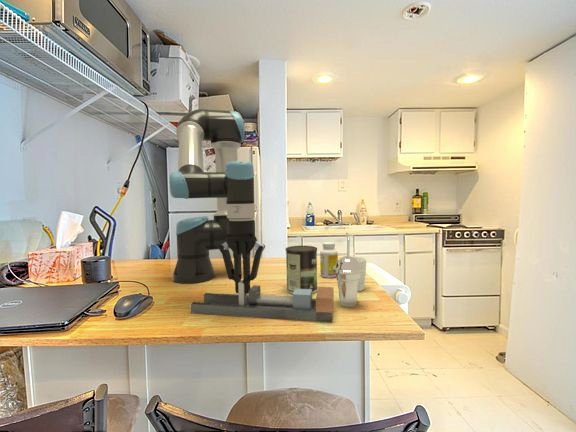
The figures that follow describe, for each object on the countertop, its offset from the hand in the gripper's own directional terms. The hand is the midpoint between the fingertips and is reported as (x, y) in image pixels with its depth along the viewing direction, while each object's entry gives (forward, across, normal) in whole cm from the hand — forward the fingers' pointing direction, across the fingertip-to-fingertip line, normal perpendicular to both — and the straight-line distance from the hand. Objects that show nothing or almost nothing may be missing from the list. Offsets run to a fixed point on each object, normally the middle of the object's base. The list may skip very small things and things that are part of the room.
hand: (243, 304), depth 82 cm
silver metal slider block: (+1, +8, 0) cm, 8 cm away
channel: (+2, +6, 0) cm, 6 cm away
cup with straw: (+2, +28, +10) cm, 30 cm away
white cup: (+2, +30, +24) cm, 39 cm away
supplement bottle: (+2, +21, +38) cm, 43 cm away
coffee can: (+2, +13, +19) cm, 24 cm away
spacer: (+2, +17, 0) cm, 17 cm away
